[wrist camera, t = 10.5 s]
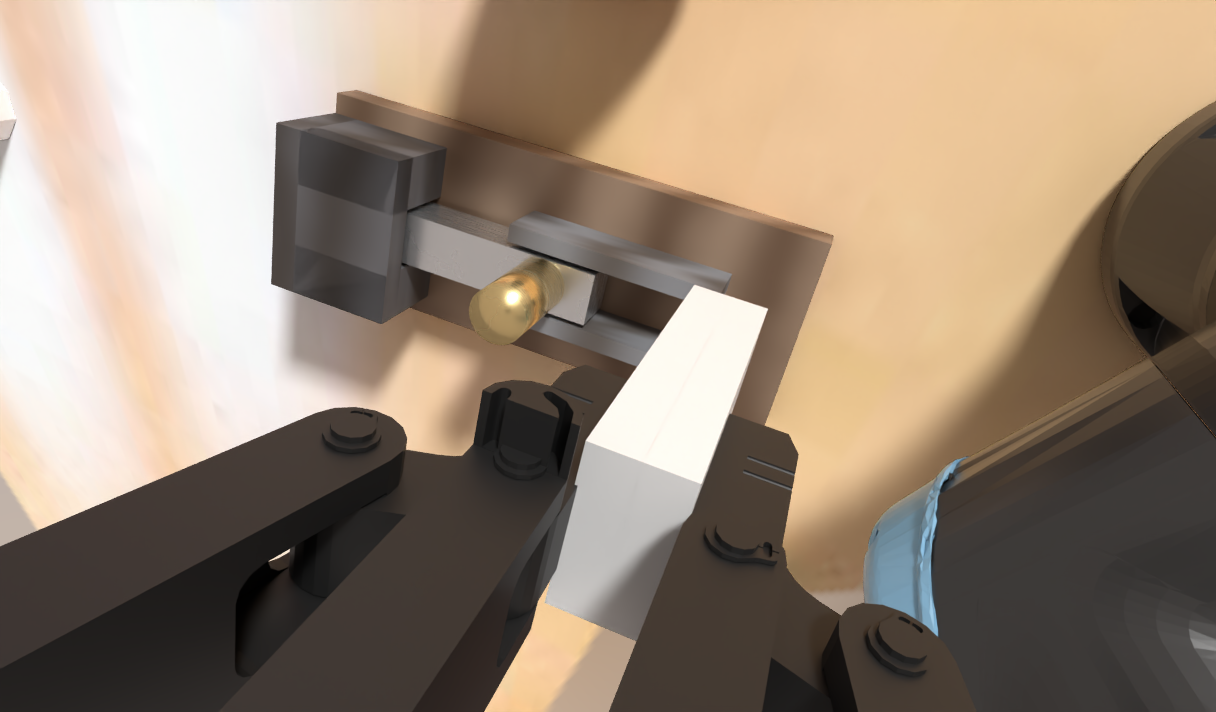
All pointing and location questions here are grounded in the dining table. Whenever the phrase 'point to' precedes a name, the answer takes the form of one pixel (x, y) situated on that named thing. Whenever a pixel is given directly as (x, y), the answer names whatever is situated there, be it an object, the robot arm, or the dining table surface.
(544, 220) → the lock frame
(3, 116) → the cup
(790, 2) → the dining table surface
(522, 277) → the bolt
